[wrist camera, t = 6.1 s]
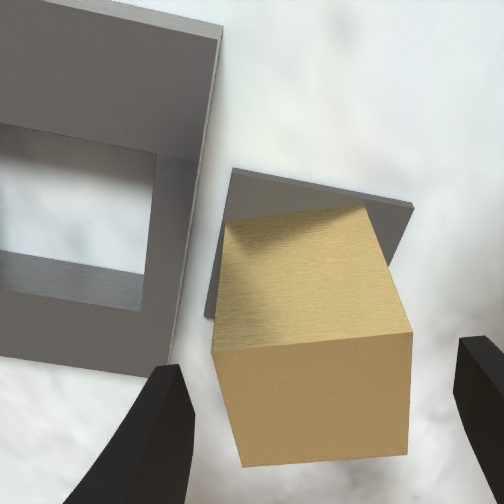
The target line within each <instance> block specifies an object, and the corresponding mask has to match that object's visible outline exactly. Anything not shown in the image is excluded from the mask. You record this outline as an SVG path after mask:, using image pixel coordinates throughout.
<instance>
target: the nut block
mask: <svg viewBox="0 0 504 504" xmlns="http://www.w3.org/2000/svg"><path fill="white" fill-rule="evenodd" d="M412 341H413V331H412V328H411V326H410V323H409V320H408V318H407V315H406V313H405V310H404V307H403V305H402V302H401V300H400V297H399V294H398V292H397V289H396V287H395V284H394V281H393V279H392V276H391V274H390V271H389V269H388V266H387V263H386V261H385V258H384V256H383V253H382V250H381V248H380V245H379V243H378V240H377V237H376V235H375V232H374V230H373V227H372V224H371V222H370V219H369V217H368V214H367V211H366V209H365V206H364V204H356V205H348V206H340V207H332V208H324V209H316V210H308V211H300V212H292V213H284V214H275V215H267V216H259V217H251V218H243V219H235V220H227V221H226V226H225V234H224V243H223V252H222V260H221V269H220V278H219V287H218V295H217V304H216V313H215V321H214V330H213V339H212V347H211V354H212V358H213V361H214V365H215V369H216V372H217V376H218V380H219V383H220V387H221V391H222V394H223V398H224V402H225V405H226V409H227V413H228V416H229V420H230V424H231V427H232V431H233V435H234V438H235V442H236V446H237V449H238V453H239V457H240V460H241V464H242V468H243V467H256V466H269V465H282V464H295V463H308V462H321V461H334V460H347V459H360V458H373V457H386V456H399V455H407V452H408V430H409V408H410V385H411V363H412Z"/></svg>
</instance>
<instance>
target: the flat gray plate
mask: <svg viewBox="0 0 504 504" xmlns="http://www.w3.org/2000/svg"><path fill="white" fill-rule="evenodd" d="M356 204H364V206H365V209H366V211H367V214H368V217H369V219H370V222H371V224H372V227H373V230H374V232H375V235H376V237H377V240H378V243H379V245H380V248H381V250H382V253H383V256H384V258H385V261H386V263H387V266H388V267H389V265H390V262H391V260H392V258H393V256H394V253H395V251H396V249H397V247H398V244H399V242H400V240H401V238H402V235H403V233H404V231H405V229H406V226H407V224H408V222H409V220H410V217H411V215H412V213H413V211H414V207H413V205H412V203H411V202H405V201H400V200H395V199H390V198H385V197H380V196H375V195H370V194H365V193H360V192H355V191H349V190H344V189H339V188H334V187H329V186H324V185H319V184H314V183H309V182H304V181H299V180H294V179H288V178H283V177H278V176H273V175H268V174H263V173H258V172H253V171H248V170H243V169H238V168H233V169H232V174H231V179H230V184H229V189H228V194H227V200H226V205H225V210H224V215H223V220H222V225H221V230H220V235H219V240H218V245H217V250H216V255H215V260H214V265H213V270H212V275H211V280H210V285H209V290H208V295H207V300H206V305H205V311H204V316H206V317H212V318H215V313H216V304H217V295H218V287H219V278H220V269H221V260H222V252H223V243H224V234H225V226H226V221H227V220H235V219H243V218H251V217H259V216H267V215H275V214H284V213H292V212H300V211H308V210H316V209H324V208H332V207H340V206H348V205H356Z"/></svg>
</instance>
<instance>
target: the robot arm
mask: <svg viewBox="0 0 504 504" xmlns="http://www.w3.org/2000/svg"><path fill="white" fill-rule="evenodd" d="M453 395H454V398H455V401H456V404H457V408H458V411H459V414H460V417H461V420H462V423H463V427H464V430H465V432H466V435H467V437H468V439H469V442H470V444H471V446H472V448H473V451H474V453H475V455H476V457H477V460H478V462H479V464H480V466H481V469H482V471H483V473H484V475H485V477H486V480H487V482H488V484H489V486H490V488H491V491H492V493H493V495H494V497H495V500H496V502H497V504H504V353H503V352H502V351H501V350H500V349H499V348H498V347H497V346H496V345H495V344H494V343H493V342H492V341H491V340H490V339H489V338H487V337H486V336H474V337H463V338H459V346H458V354H457V362H456V371H455V379H454V388H453ZM194 430H195V412H194V409H193V406H192V403H191V400H190V396H189V393H188V390H187V387H186V384H185V381H184V378H183V375H182V372H181V369H180V366H179V364H174V365H164V366H156V367H155V368H154V370H153V371H152V373H151V375H150V377H149V378H148V380H147V382H146V383H145V385H144V387H143V389H142V390H141V392H140V394H139V395H138V397H137V399H136V400H135V402H134V404H133V405H132V407H131V409H130V410H129V412H128V414H127V415H126V417H125V418H124V420H123V421H122V423H121V424H120V426H119V428H118V429H117V431H116V432H115V434H114V435H113V437H112V438H111V440H110V441H109V443H108V444H107V446H106V447H105V448H104V450H103V451H102V453H101V454H100V455H99V457H98V458H97V460H96V461H95V462H94V464H93V465H92V467H91V468H90V469H89V471H88V472H87V474H86V475H85V476H84V477H83V479H82V480H81V481H80V483H79V484H78V485H77V486H76V488H75V489H74V490H73V492H72V493H71V494H70V495H69V496H68V498H67V499H66V500H65V501H64V502H63V504H184V502H185V497H186V491H187V485H188V479H189V474H190V468H191V462H192V456H193V446H194Z"/></svg>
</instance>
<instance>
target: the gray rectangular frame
mask: <svg viewBox="0 0 504 504" xmlns="http://www.w3.org/2000/svg"><path fill="white" fill-rule="evenodd" d="M222 31H223V26H221V25H216V24H212V23H207V22H203V21H198V20H194V19H190V18H185V17H181V16H176V15H172V14H168V13H163V12H159V11H154V10H150V9H145V8H141V7H137V6H132V5H128V4H123V3H119V2H115V1H110V0H0V123H4V124H9V125H14V126H19V127H24V128H29V129H34V130H39V131H45V132H50V133H55V134H60V135H65V136H70V137H75V138H80V139H85V140H90V141H95V142H101V143H106V144H111V145H116V146H121V147H126V148H131V149H136V150H141V151H146V152H151V153H157V156H156V165H155V175H154V185H153V195H152V204H151V214H150V224H149V233H148V243H147V253H146V263H145V272H144V275H141V274H135V273H130V272H124V271H118V270H112V269H106V268H100V267H94V266H89V265H83V264H77V263H71V262H65V261H59V260H53V259H47V258H42V257H36V256H30V255H24V254H18V253H12V252H6V251H1V250H0V356H5V357H11V358H18V359H25V360H32V361H38V362H45V363H52V364H58V365H65V366H72V367H79V368H85V369H92V370H99V371H105V372H112V373H119V374H126V375H132V376H139V377H146V378H149V377H150V375H151V373H152V371H153V370H154V368H155V367H156V366H164V365H168V363H169V359H170V354H171V349H172V344H173V339H174V333H175V326H176V320H177V314H178V307H179V301H180V295H181V289H182V282H183V276H184V270H185V263H186V257H187V251H188V245H189V238H190V232H191V226H192V219H193V213H194V207H195V201H196V194H197V188H198V182H199V175H200V169H201V163H202V157H203V150H204V144H205V138H206V131H207V125H208V119H209V113H210V106H211V100H212V94H213V88H214V81H215V75H216V69H217V62H218V56H219V50H220V44H221V37H222Z"/></svg>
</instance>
